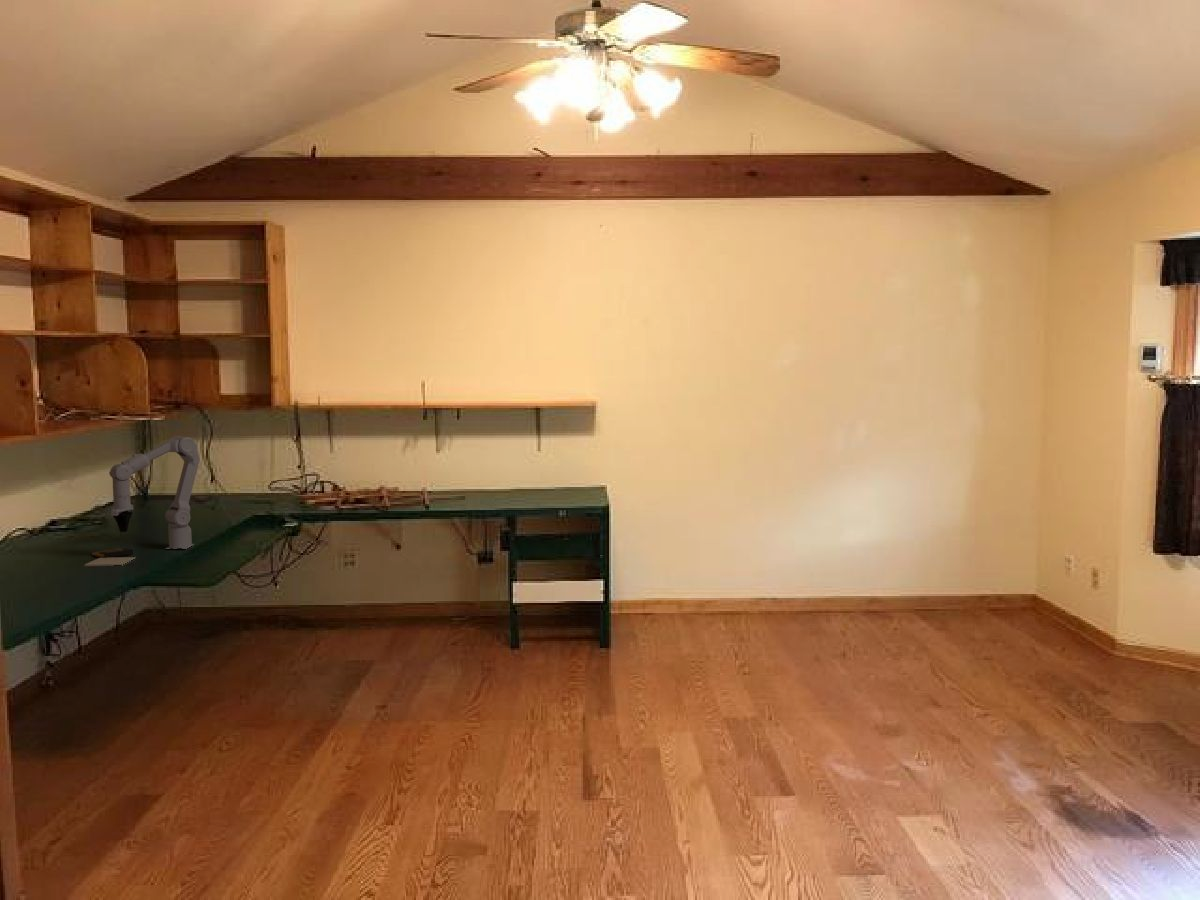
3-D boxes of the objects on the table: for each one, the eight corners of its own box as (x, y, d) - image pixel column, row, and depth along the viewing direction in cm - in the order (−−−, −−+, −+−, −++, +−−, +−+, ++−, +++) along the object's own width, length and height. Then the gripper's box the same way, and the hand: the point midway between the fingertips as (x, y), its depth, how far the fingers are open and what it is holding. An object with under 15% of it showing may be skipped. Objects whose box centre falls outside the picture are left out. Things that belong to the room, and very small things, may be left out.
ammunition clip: (104, 553, 355) (89, 551, 363) (104, 558, 355) (89, 556, 363) (133, 549, 364) (117, 547, 371) (133, 553, 364) (118, 552, 371)
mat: (100, 559, 356) (100, 557, 356) (135, 558, 357) (135, 557, 357) (84, 566, 344) (84, 564, 344) (121, 565, 345) (121, 564, 345)
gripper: (119, 493, 367) (121, 528, 368) (102, 499, 352) (104, 535, 354) (138, 493, 367) (139, 528, 368) (121, 498, 353) (123, 535, 354)
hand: (123, 531), depth 361 cm, fingers closed
